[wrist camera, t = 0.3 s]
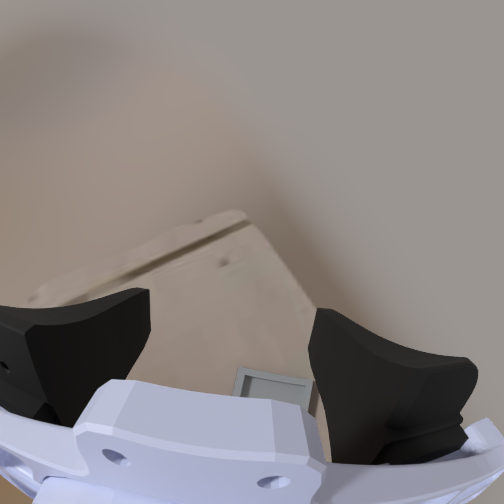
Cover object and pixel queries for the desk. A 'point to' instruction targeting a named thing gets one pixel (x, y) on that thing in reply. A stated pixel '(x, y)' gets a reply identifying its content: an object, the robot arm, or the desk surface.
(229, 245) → the desk surface
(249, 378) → the tray
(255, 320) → the desk surface
